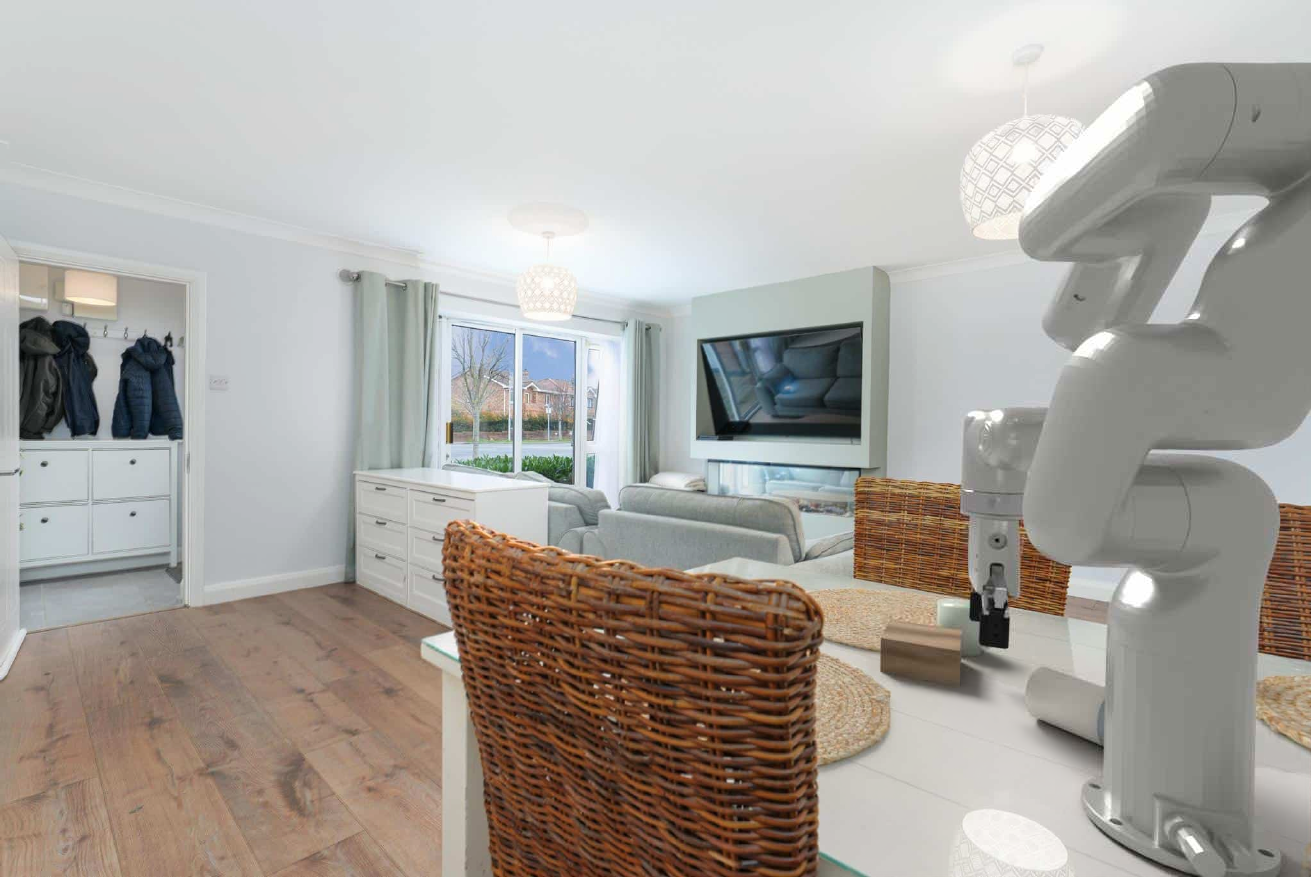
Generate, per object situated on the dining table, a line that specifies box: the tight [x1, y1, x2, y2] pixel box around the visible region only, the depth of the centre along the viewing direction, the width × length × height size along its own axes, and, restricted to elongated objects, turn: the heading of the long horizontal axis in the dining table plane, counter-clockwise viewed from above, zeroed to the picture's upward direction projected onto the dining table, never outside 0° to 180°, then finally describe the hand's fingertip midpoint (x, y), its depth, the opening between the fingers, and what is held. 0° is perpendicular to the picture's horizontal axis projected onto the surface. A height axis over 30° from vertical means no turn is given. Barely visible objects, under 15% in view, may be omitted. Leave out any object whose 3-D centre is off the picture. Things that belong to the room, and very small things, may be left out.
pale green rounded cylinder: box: [936, 598, 983, 657], centre depth 95 cm, size 6×6×7 cm
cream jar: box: [1024, 666, 1105, 747], centre depth 68 cm, size 6×6×9 cm
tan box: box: [879, 619, 962, 687], centre depth 87 cm, size 10×10×5 cm
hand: (987, 633), depth 79 cm, fingers open, 9 cm apart
